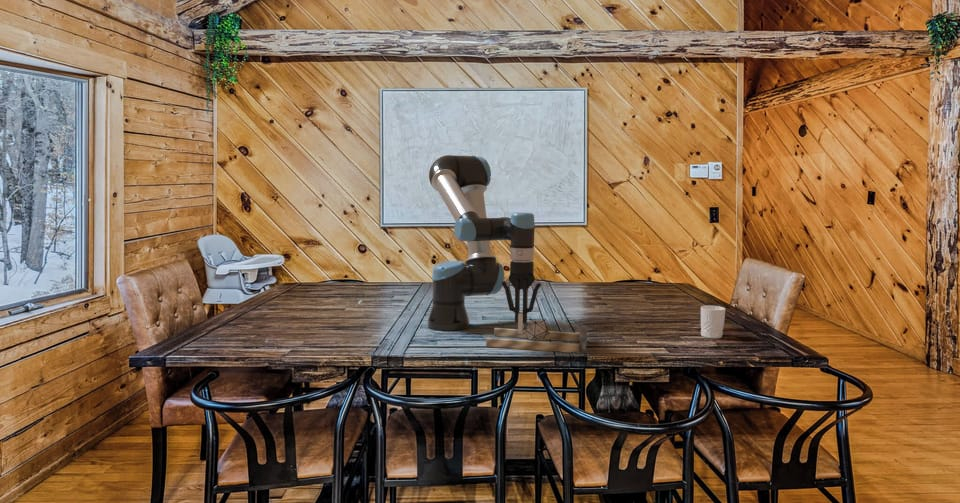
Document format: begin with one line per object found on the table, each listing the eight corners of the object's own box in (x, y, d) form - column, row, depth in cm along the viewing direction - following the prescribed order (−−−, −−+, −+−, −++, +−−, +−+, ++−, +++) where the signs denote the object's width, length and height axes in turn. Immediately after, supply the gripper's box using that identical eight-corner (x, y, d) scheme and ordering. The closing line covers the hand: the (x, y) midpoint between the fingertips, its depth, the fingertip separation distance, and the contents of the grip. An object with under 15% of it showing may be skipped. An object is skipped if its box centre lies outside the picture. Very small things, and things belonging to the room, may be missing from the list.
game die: (540, 353, 184) (558, 328, 185) (536, 350, 176) (555, 324, 177) (518, 337, 187) (536, 312, 188) (514, 333, 179) (532, 308, 180)
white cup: (722, 334, 196) (724, 306, 195) (724, 339, 189) (726, 310, 188) (698, 332, 199) (700, 304, 198) (699, 337, 192) (701, 309, 190)
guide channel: (486, 346, 178) (486, 331, 177) (495, 334, 192) (495, 320, 192) (585, 353, 171) (585, 337, 171) (586, 340, 186) (587, 326, 185)
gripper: (499, 261, 178) (498, 334, 180) (540, 262, 175) (539, 336, 177) (504, 258, 185) (503, 328, 187) (543, 260, 182) (542, 331, 184)
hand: (520, 332), depth 182 cm, fingers closed
